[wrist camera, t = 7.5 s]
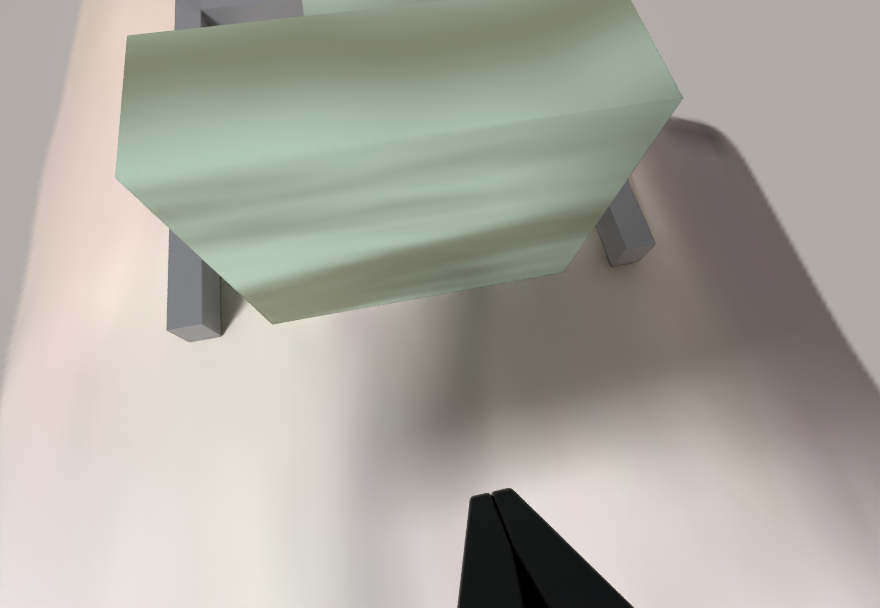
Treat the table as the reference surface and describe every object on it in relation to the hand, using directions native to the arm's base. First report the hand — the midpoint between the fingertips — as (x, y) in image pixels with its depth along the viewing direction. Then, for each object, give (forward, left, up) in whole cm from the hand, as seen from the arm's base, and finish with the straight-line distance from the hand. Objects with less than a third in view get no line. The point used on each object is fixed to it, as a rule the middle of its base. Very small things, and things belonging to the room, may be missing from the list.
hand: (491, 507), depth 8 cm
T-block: (+14, +4, -7) cm, 16 cm away
